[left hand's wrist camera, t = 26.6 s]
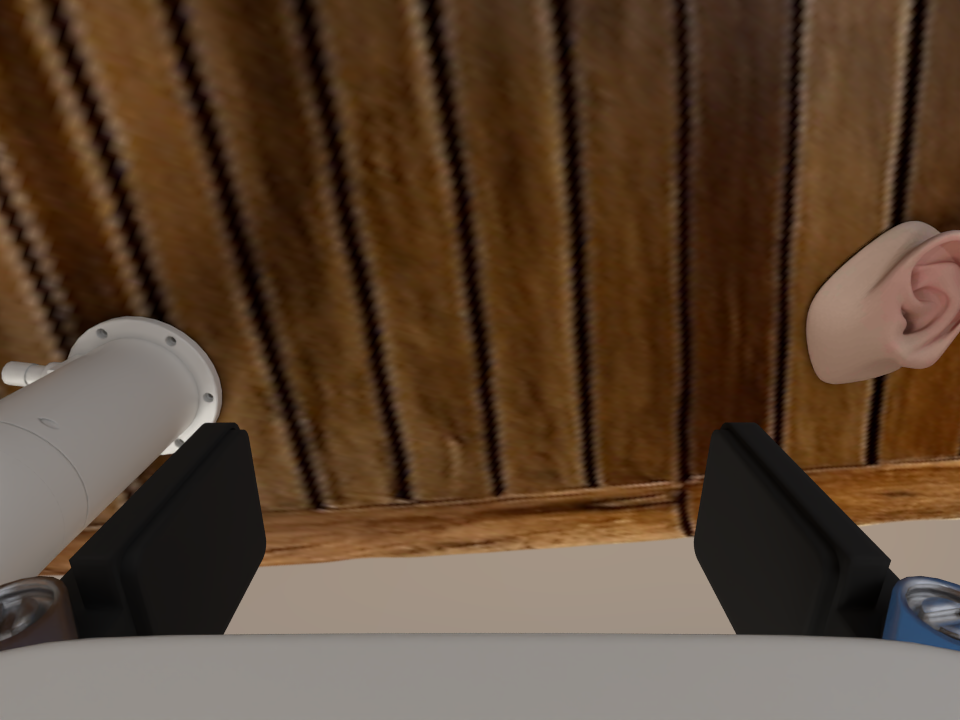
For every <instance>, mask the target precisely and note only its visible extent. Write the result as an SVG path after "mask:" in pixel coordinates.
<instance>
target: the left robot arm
mask: <svg viewBox="0 0 960 720" xmlns="http://www.w3.org/2000/svg"><path fill="white" fill-rule="evenodd" d="M2 380H3V381H4V383H6V384H8V385H15V386H24V387H23V388H21V389H19V390H18V391H16V392H14V393H12V394H10V395H8V396H6V397H5V398H3V399H1V400H0V720H960V585H957V584H954V583H951V582H948V581H944V580H941V579H938V578H931V577H924V576H915V577H906V578H904V579H901V580H900V579H899V578H898V577H897V576H896V575H895V574H894V573H893V572H892V571H891V570H890V569H889V565H890V562H891V560H890V559H889V558H888V557H887V556H886V555H885V553H884V552H883V551H882V550H881V549H880V548H879V547H878V546H877V545H876V544H875V543H874V542H873V541H872V540H871V539H870V538H869V537H868V536H867V535H866V534H865V533H864V532H863V531H862V530H861V529H860V528H859V527H858V526H857V525H856V524H855V523H854V522H853V521H852V520H851V519H850V518H849V517H848V516H847V515H846V514H845V513H844V512H843V511H842V510H841V509H840V508H839V507H838V506H837V505H836V504H835V503H834V502H833V501H832V500H831V499H830V498H829V496H828V495H827V494H826V493H825V492H824V491H823V490H822V489H821V488H820V487H819V486H818V485H817V484H816V483H815V482H814V481H813V480H812V479H811V478H810V477H809V476H808V475H807V474H806V473H805V472H804V471H803V470H802V469H801V468H800V467H799V466H798V465H797V464H796V463H795V462H794V461H793V460H792V459H791V458H790V457H789V456H788V455H787V454H786V453H785V452H784V451H783V450H782V449H781V448H780V447H779V446H778V445H777V444H776V443H775V442H774V441H773V440H772V439H771V437H770V436H769V435H768V434H767V433H766V432H765V431H764V430H763V429H762V428H761V427H760V426H759V425H758V424H756V423H724V424H723V425H722V427H721V429H720V430H715V431H714V432H713V433H712V437H711V442H710V448H709V453H708V459H707V465H706V471H705V477H704V483H703V489H702V495H701V501H700V507H699V512H698V518H697V524H696V530H695V536H694V549H695V554H696V557H697V559H698V561H699V563H700V565H701V567H702V569H703V571H704V573H705V575H706V577H707V579H708V581H709V582H710V584H711V586H712V588H713V590H714V592H715V594H716V596H717V598H718V600H719V602H720V604H721V606H722V607H723V609H724V611H725V613H726V615H727V617H728V619H729V621H730V623H731V625H732V627H733V629H734V630H735V632H736V634H737V635H726V634H725V635H723V634H584V633H367V634H240V635H223V634H224V632H225V630H226V629H227V627H228V625H229V623H230V621H231V619H232V617H233V615H234V613H235V611H236V609H237V607H238V606H239V603H240V602H241V600H242V598H243V596H244V594H245V592H246V590H247V588H248V586H249V584H250V582H251V581H252V579H253V577H254V575H255V573H256V571H257V569H258V567H259V565H260V563H261V561H262V559H263V557H264V554H265V550H266V536H265V530H264V524H263V518H262V512H261V507H260V501H259V495H258V489H257V483H256V477H255V471H254V465H253V459H252V453H251V448H250V442H249V437H248V433H247V432H246V431H245V430H240V429H239V427H238V425H237V424H236V423H216V421H217V419H218V417H219V414H220V410H221V405H222V389H221V384H220V379H219V377H218V374H217V372H216V369H215V367H214V365H213V363H212V362H211V360H210V359H209V357H208V356H207V354H206V353H205V352H204V351H203V350H202V348H201V347H200V346H199V345H198V344H197V343H196V342H195V341H194V340H192V339H191V338H190V337H189V336H187V335H186V334H185V333H183V332H182V331H180V330H178V329H176V328H175V327H173V326H171V325H169V324H166V323H164V322H161V321H158V320H156V319H151V318H146V317H139V316H124V317H118V318H112V319H110V320H107V321H105V322H102V323H100V324H98V325H96V326H94V327H92V328H90V329H88V330H87V331H86V332H85V333H84V334H83V335H81V336H80V337H79V338H78V339H77V341H76V342H75V344H74V345H73V347H72V348H71V351H70V354H69V356H68V359H67V360H65V361H64V362H62V363H60V362H52V363H49V364H48V365H46V366H43V365H38V364H33V363H24V362H14V361H11V362H9V363H7V364H6V365H5V366H4V367H3V370H2ZM172 453H174V454H173V455H172V456H171V457H170V458H169V459H168V460H167V461H166V462H165V463H164V464H163V465H162V466H161V467H160V468H159V469H158V470H157V471H156V472H155V473H154V474H153V475H152V476H151V477H150V478H149V479H148V480H147V481H146V482H145V483H144V484H143V485H142V486H141V487H140V488H139V489H138V490H137V491H136V492H135V493H134V494H133V495H132V496H131V498H130V499H129V500H128V501H127V502H126V503H125V504H124V505H123V506H122V507H121V508H120V509H119V510H118V511H117V512H116V513H115V514H114V515H113V516H112V517H111V518H110V519H109V520H108V521H107V522H106V523H105V524H104V525H103V526H102V527H101V528H100V529H99V530H98V531H97V532H96V533H95V534H94V535H93V536H92V537H91V538H90V539H89V540H88V541H87V542H86V543H85V544H84V545H83V546H82V547H81V548H80V549H79V550H78V551H77V552H76V553H75V554H74V556H73V557H72V558H71V559H70V560H69V562H70V565H71V569H70V570H69V571H68V572H67V573H66V574H65V575H64V576H63V577H62V578H61V579H60V580H59V579H56V578H54V577H45V576H37V575H38V574H39V573H40V572H41V571H42V570H43V569H44V568H45V567H46V566H47V565H48V564H49V563H50V562H51V561H52V560H53V559H54V558H55V557H56V556H57V555H58V554H59V553H60V552H61V551H62V550H63V549H64V548H65V547H66V546H67V545H68V544H69V543H70V542H71V541H72V540H73V539H74V538H75V537H76V536H77V535H78V534H79V533H80V532H82V531H83V530H84V529H85V528H86V527H87V526H88V525H89V524H90V523H91V522H92V521H93V520H94V519H95V518H96V517H97V516H98V515H99V514H100V513H101V512H102V511H103V510H104V509H105V508H106V507H107V506H108V505H109V504H110V503H111V502H112V501H113V500H114V499H115V498H116V497H117V496H118V495H119V494H120V493H121V492H122V491H123V490H124V489H125V488H127V487H128V486H129V485H130V484H131V483H132V482H133V481H134V480H135V479H136V478H137V477H138V476H139V475H140V474H141V473H142V472H143V471H144V470H145V469H146V468H147V467H148V466H149V465H150V464H151V463H152V462H153V461H154V460H155V459H156V458H157V457H158V456H159V455H166V454H172Z"/></svg>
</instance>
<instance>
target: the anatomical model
mask: <svg viewBox="0 0 960 720" xmlns="http://www.w3.org/2000/svg"><path fill="white" fill-rule="evenodd" d="M959 332H960V230H952V231H946V232H943V233H940V232H939V231H937V230H936V229H935V228H933V227H932V226H930V225H928V224H926V223H923V222H920V221H909V222H905V223H902V224H900V225H897V226H895V227H893V228H892V229H890V230H888V231H887V232H885V233H884V234H882V235H881V236H879V237H878V238H876V239H875V240H874V241H872V242H871V243H870V244H868V245H867V246H866V247H865V248H863V249H862V250H861V251H859V252H858V253H857V254H856V255H855V256H854V257H852V258H851V259H850V260H849V261H848V262H847V263H845V264H844V265H843V266H842V267H841V268H840V269H839V270H838V271H837V272H836V273H835V274H833V276H832V277H831V278H830V279H829V280H828V281H827V282H826V283H825V284H824V285H823V286H822V288H821V289H820V290H819V291H818V293H817V294H816V296H815V297H814V299H813V301H812V303H811V305H810V308H809V311H808V316H807V324H806V336H807V345H808V351H809V355H810V359H811V363H812V366H813V368H814V371H815V373H816V374H817V376H818V377H819V378H820V379H821V380H822V381H824V382H827V383H831V384H842V383H850V382H856V381H862V380H867V379H871V378H875V377H878V376H882V375H885V374H888V373H891V372H893V371H895V370H897V369H899V368H901V367H908V368H916V369H921V368H926V367H929V366H931V365H933V364H934V363H935V362H936V361H937V360H938V359H939V358H940V357H941V355H942V354H943V353H944V351H945V350H946V349H947V347H948V346H949V345H950V343H951V342H952V341H953V339H954V338H955V337H956V335H957V334H958V333H959Z"/></svg>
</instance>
